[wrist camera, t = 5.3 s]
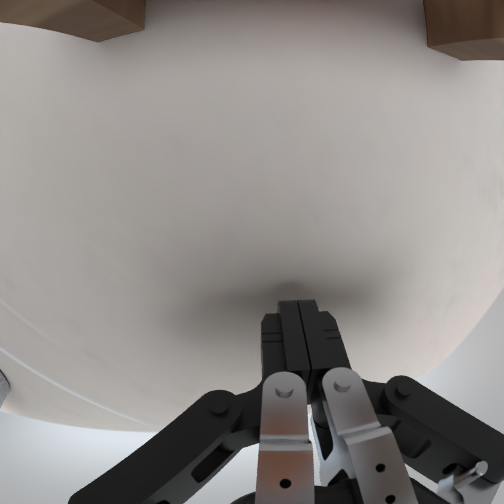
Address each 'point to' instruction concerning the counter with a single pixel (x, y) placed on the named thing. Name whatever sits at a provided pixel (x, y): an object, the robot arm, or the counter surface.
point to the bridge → (133, 11)
